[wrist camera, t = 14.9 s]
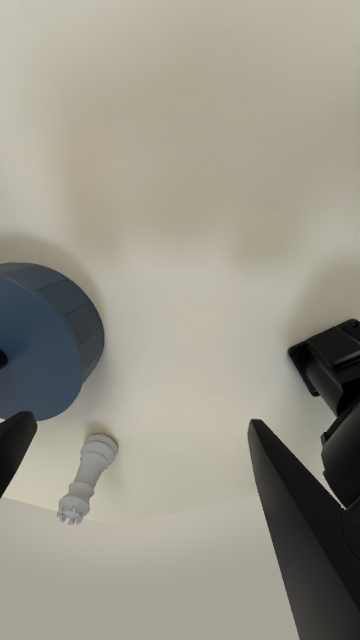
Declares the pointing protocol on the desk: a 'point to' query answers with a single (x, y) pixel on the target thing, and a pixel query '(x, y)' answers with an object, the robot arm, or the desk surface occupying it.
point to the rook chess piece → (87, 477)
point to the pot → (65, 306)
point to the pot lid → (36, 354)
